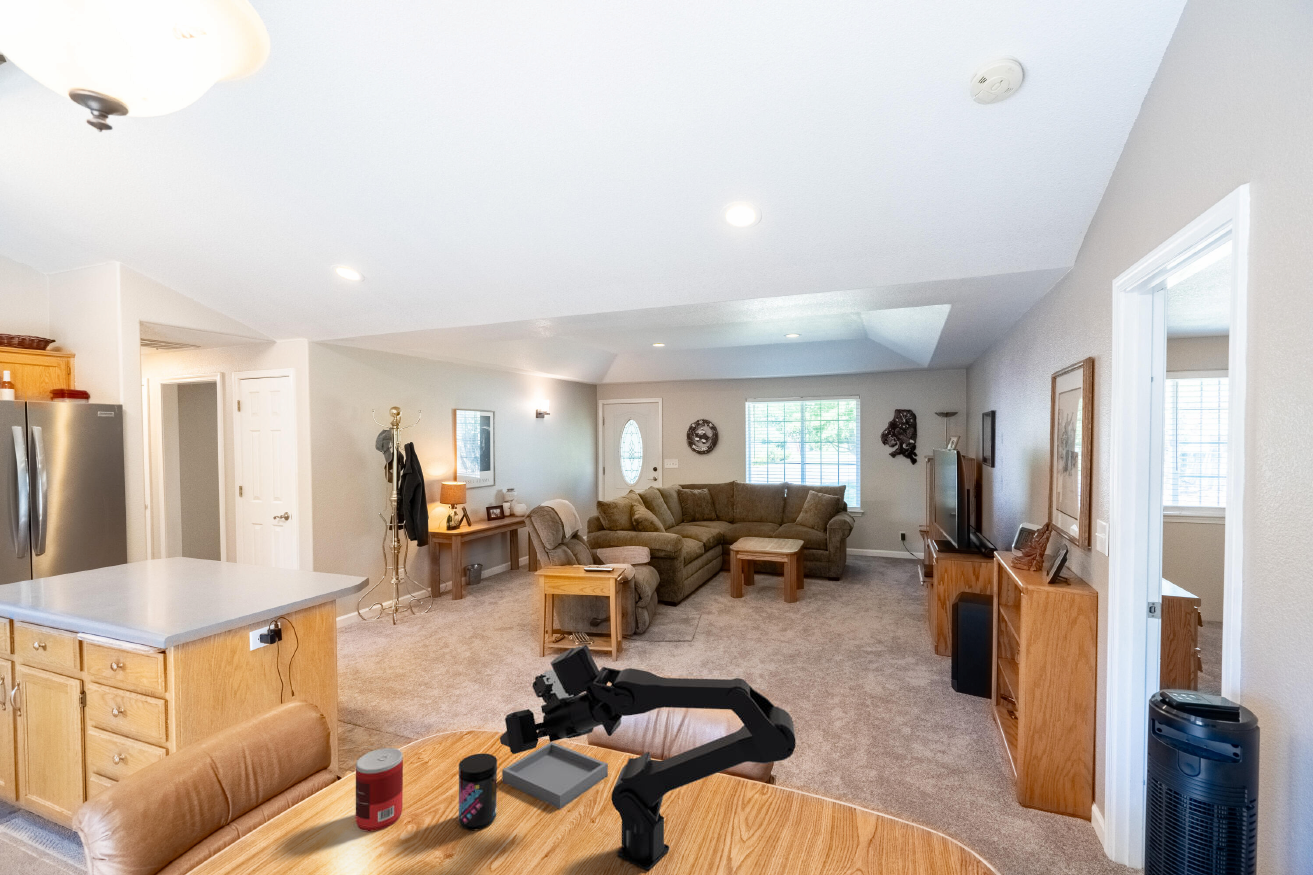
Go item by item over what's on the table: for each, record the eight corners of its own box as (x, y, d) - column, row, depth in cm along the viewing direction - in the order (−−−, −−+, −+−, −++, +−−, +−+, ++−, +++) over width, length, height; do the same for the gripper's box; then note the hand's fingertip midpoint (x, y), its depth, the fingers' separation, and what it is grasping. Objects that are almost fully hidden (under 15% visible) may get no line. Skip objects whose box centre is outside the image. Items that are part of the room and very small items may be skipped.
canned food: (410, 806, 115) (410, 748, 115) (387, 833, 107) (388, 770, 107) (371, 804, 116) (372, 746, 116) (346, 831, 108) (346, 768, 108)
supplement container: (456, 813, 113) (456, 757, 113) (494, 805, 116) (494, 750, 116) (459, 835, 107) (460, 775, 107) (499, 826, 109) (499, 767, 110)
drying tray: (607, 775, 126) (607, 763, 126) (560, 809, 115) (560, 795, 115) (551, 753, 135) (551, 741, 135) (502, 781, 124) (502, 769, 124)
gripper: (604, 660, 116) (548, 683, 123) (531, 670, 101) (472, 696, 108) (619, 722, 111) (559, 743, 118) (545, 742, 97) (482, 765, 104)
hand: (520, 735), depth 112 cm, fingers open, 9 cm apart
